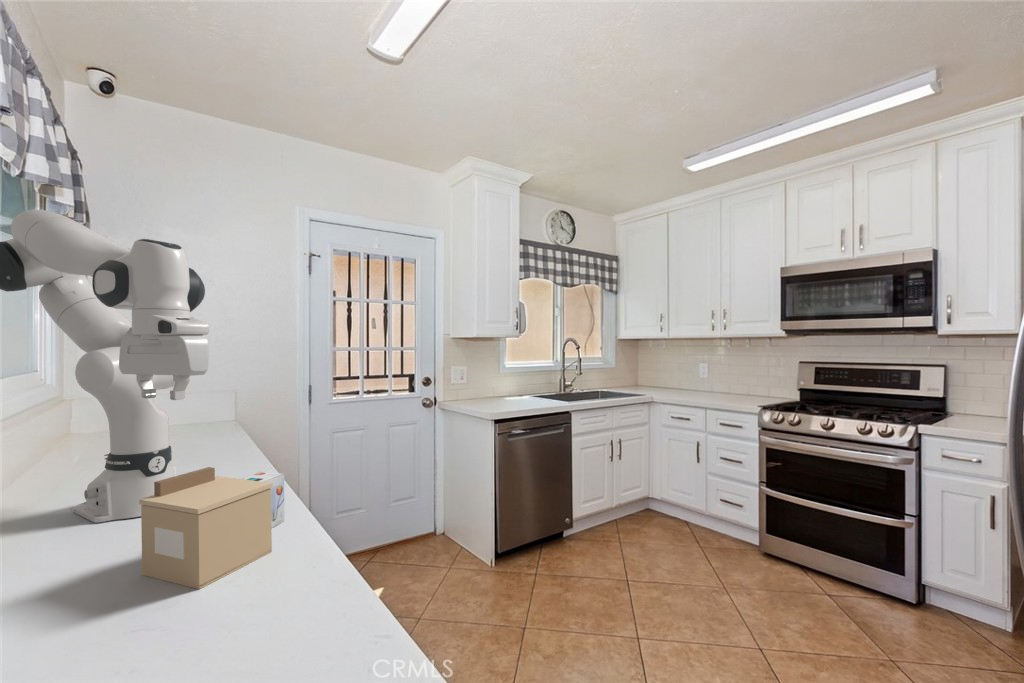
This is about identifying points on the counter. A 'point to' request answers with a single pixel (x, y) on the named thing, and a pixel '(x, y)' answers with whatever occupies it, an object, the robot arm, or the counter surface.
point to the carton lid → (201, 491)
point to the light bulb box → (273, 494)
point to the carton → (205, 540)
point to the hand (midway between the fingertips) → (162, 398)
